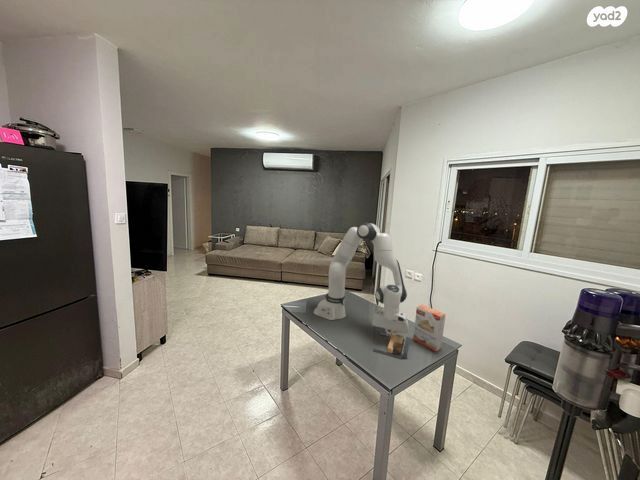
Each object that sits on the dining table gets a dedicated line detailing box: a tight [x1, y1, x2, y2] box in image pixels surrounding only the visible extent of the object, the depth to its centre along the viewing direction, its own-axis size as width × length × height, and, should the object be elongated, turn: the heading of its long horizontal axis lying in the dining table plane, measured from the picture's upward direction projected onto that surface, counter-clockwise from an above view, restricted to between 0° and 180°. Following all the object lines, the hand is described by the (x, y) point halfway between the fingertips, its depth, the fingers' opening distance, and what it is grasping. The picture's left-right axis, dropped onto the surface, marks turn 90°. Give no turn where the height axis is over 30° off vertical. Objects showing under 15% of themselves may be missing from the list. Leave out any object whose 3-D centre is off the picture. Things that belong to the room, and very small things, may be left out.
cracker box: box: [413, 304, 446, 352], centre depth 137 cm, size 14×6×21 cm, turn 36°
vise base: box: [372, 332, 411, 360], centre depth 136 cm, size 17×19×3 cm
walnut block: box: [392, 333, 404, 356], centre depth 133 cm, size 4×8×6 cm, turn 156°
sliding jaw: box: [386, 332, 396, 354], centre depth 136 cm, size 3×16×3 cm, turn 156°
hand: (389, 335), depth 143 cm, fingers closed
